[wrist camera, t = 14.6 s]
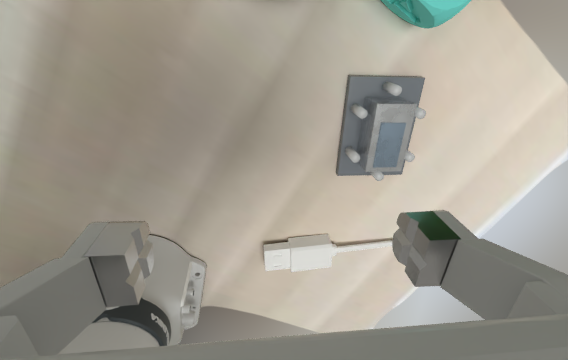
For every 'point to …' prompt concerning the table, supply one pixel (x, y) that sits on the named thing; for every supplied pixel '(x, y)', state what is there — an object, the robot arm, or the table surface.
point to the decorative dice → (426, 10)
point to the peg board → (355, 113)
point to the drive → (385, 133)
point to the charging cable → (308, 252)
